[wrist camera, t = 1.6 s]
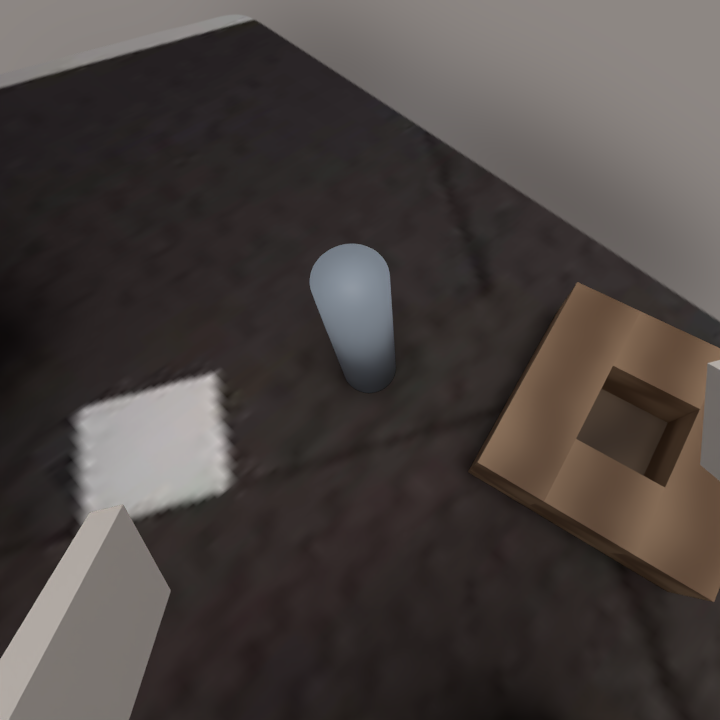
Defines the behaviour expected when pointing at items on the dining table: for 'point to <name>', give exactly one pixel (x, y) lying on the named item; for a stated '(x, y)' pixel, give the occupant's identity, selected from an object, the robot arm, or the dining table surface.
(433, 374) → the dining table surface
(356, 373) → the dowel
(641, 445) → the bore block
